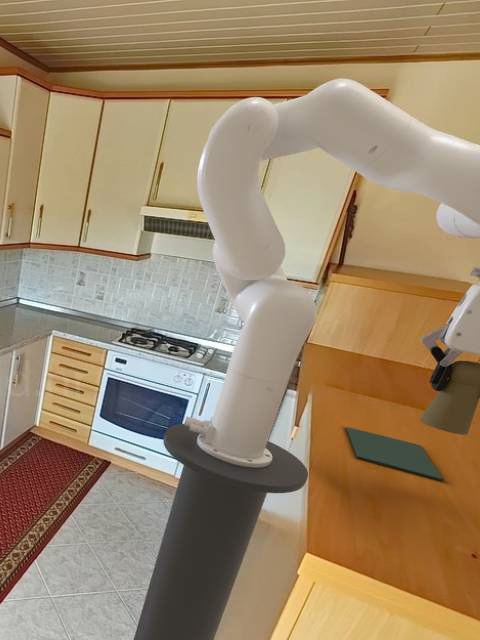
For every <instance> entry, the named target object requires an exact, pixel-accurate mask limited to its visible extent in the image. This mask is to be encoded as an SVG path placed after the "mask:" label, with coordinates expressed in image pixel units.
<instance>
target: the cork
mask: <svg viewBox="0 0 480 640" xmlns="http://www.w3.org/2000/svg"><path fill="white" fill-rule="evenodd" d="M450 368H451V369H452V371H451V373H450V376H449V378H448V380H447V382H446V384H445V386H444V388H443V390H442V391H437V392H438V393H437V394H436V395H435V396H434V398H433V399H432V401H431V402H430V403H429V405H428V407H427V408H426V409H425V410H424V412H423V414H421V416H420V418H419V421H420V422H421V423H423V424H425V425H426V426H429V427H431V428H434V429H436V430H440V431H444V432H447V433H451V434H454V435H455V434H456V435H461V436H462V435H469V432H470V429H471V425H472V423H473V419H474V416H475V413H476V410H477V407H478V404H479V401H480V362H477V361H472V360H471V361H470V360H454V361H453V362H452V363H451V366H450Z"/></svg>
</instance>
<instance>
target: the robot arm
mask: <svg viewBox="0 0 480 640" xmlns="http://www.w3.org/2000/svg"><path fill="white" fill-rule="evenodd" d="M318 148H319V149H320V150H322V151H324V152H325V153H327V154H328V155H330V156H331V157H333V158H335V159H336V160H338V161H339V162H340V163H342V164H344V165H345V166H347V167H348V168H350V169H352V170H353V171H354V172H356V173H357V174H359V175H361V177H364V178H365V179H366V180H368V181H369V182H371V183H373V184H376V185H379V186H381V187H384V188H387V189H391V190H397V191H401V192H402V191H403V192H408V193H413V194H416V195H420V196H423V197H426V198H428V199H432V200H433V201H437V202H439V203H440V204H439V206H438V208H437V210H436V215H435V218H436V223H437V225H438V227H439V228H440V229H441V230H442V231H443V232H445V233H446V234H448V235H451V236H453V237H458V238H464V239H480V144H477V143H474V142H471V141H468V140H465V139H463V138H461V137H459V136H458V137H457V136H456V135H452V134H449V133H446V132H443V131H440V130H437V129H434V128H433V127H430V126H428V125H427V124H425V123H423V122H422V121H420V120H419V119H417V118H415V117H414V116H412V115H410V114H409V113H408V112H406V111H404V110H403V109H401V108H399V107H398V106H397V105H395V104H393V103H392V102H390V101H389V100H387V99H386V98H384V97H382V96H381V95H380V94H378V93H376V92H375V91H373V90H371V89H370V88H368V87H367V86H365V85H363V84H362V83H360V82H359V81H356V80H353V79H350V78H335V79H332V80H329V81H327V82H325V83H323V84H320V85H319V86H317V87H316V88H314V89H312V90H311V91H309V92H308V93H306V94H305V95H302V96H299V97H296V98H293V99H289V100H286V101H282V102H278V103H272V102H271V101H269V100H268V99H266V98H264V97H260V96H259V97H258V96H251V97H247V98H244V99H241V100H239V101H238V102H235V103H234V104H233V105H231V106H230V107H229V108H228V109H227V110H225V112H224V113H223V114H222V115H221V116H220V118H219V119H218V120H216V122H215V124H214V125H213V126H212V128H211V129H210V132H209V134H208V137H207V141H206V142H205V145H204V147H203V149H202V152H201V156H200V159H199V163H198V168H197V175H196V188H197V195H198V200H199V202H200V205H201V209H202V211H203V212H204V216H205V218H206V221H207V223H208V226H209V230H210V231H211V234H212V236H213V239H214V243H213V246H212V259H213V262H214V265H215V267H216V270H217V273H218V276H219V277H220V280H221V282H222V284H223V286H224V288H225V291H226V293H227V295H228V297H229V299H230V302H231V303H232V306H233V308H234V310H235V312H236V314H237V315H238V317H239V318H240V320H241V321H243V322H244V323H243V325H242V329H241V331H240V332H239V333H240V334H239V335H238V337H237V340H236V342H235V344H234V346H233V350H232V353H231V356H230V359H229V363H228V366H227V369H226V373H225V376H224V379H223V383H222V386H221V388H220V389H221V390H220V393H219V397H218V400H217V403H216V407H215V410H214V413H213V416H211V417H210V420H208V419H207V420H206V419H204V420H199V419H197V418H194V417H191V416H186V417H185V420H184V423H183V424H184V426H187V427H190V428H189V431H193V432H197V433H201V434H199V436H198V438H197V444H198V445H199V447H200V448H201V449H202V450H203V451H205V452H206V453H208V454H209V455H211V456H213V457H215V458H217V459H219V460H222V461H224V462H227V463H231V464H234V465H238V466H243V467H250V468H262V467H266V466H268V465H270V464H271V461H272V454H271V453H270V452H269V451H268V450H267V449H266V448H265V447H266V444H267V442H268V441H269V439H270V436H271V433H272V429H273V426H274V424H275V421H276V418H277V415H278V413H279V410H280V407H281V404H282V401H283V398H284V395H285V393H286V390H287V387H288V384H289V381H290V378H291V375H292V372H293V369H294V367H295V364H296V362H297V359H298V356H299V355H300V352H301V350H302V348H303V346H304V344H305V343H306V341H307V339H308V337H309V335H310V333H311V331H312V329H313V327H314V324H315V323H316V317H317V305H316V302H315V299H314V297H313V295H312V294H311V293H310V292H309V291H308V289H306V288H305V287H304V286H302V285H300V284H298V283H296V282H293V281H290V280H288V279H287V277H286V274H285V272H284V270H283V268H282V264H283V262H284V259H285V256H286V244H285V241H284V237H283V236H282V233H281V232H280V229H279V228H278V226H277V224H276V222H275V219H274V216H273V215H272V213H271V210H270V207H269V205H268V203H267V201H266V197H265V195H264V192H263V189H262V186H261V181H260V178H259V166H260V163H261V161H262V162H263V161H268V160H273V159H277V158H283V157H287V156H291V155H296V154H301V153H303V152H309V151H312V150H316V149H318ZM470 276H472V277H476V278H478V281H479V283H478V284H475V283H474V284H473V283H472V285H471V286H470V287H469V288H468V290H467V291H466V293H464V295H463V296H462V297H461V299H460V301H459V302H458V304H457V306H456V307H455V308H454V310H453V312H452V313H451V315H450V316H449V318H448V320H447V321H446V323H445V324H444V325H442V326H440V327H438V328H435V329H434V330H432V331H430V332H428V333H426V334H424V335H423V336H422V335H421V336H420V339H419V340H420V342H421V343H422V344H423V345H424V346H425V348H426V349H427V350H428V352H430V354H431V356H432V357H433V358H434V361H435V362H436V363H437V364H436V366H435V368H434V370H433V372H432V374H431V375H430V378H429V381H428V382H429V384H431V385H430V387H431V388H432V389H433V390H434V391H436V392H439V391H442V390H443V388H444V386H445V384H446V382H447V380H448V378H449V376H450V373H451V371H452V369H451V368H450V366H451V364H452V363H454V362H455V361H456V360H457V358H459V357H460V356H461V355H462V354H463V353H467V354H472V355H477V356H480V267H479V266H474V267H473V268H472V270H471V271H470ZM438 340H439V341H440V342H441V343H442V344H444V345H445V346H447V347H446V348H445V349H442V348H441V347H440V346H439V345H438V344H437V341H438Z"/></svg>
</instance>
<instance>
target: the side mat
mask: <svg viewBox="0 0 480 640" xmlns="http://www.w3.org/2000/svg"><path fill="white" fill-rule="evenodd" d="M345 430H346V432H347V434H348V438H349V440H350V443H351V446H352V448H353V451H354V454H355V457H356V459H358V460H362V461H365V462H369V463H372V464H377V465H380V466H383V467H387V468H391V469H394V470H399V471H402V472H406V473H409V474H414V475H417V476H421V477H424V478H428V479H432V480H435V481H440V482H443V480H444V478H443V477H442V476H441V474H440V472H439V471H438V469H437V468H436V466H435V465H434V464H433V462H432V460H430V458H429V456H428V455H427V454H426V452H425V451H424V449H423V447H422V446H421V445H420V444H418V443H413V442H410V441H406V440H403V439H402V440H401V439H398V438H394V437H390V436H386V435H381V434H377V433H373V432H369V431H365V430H361V429H357V428H354V427H349V426H346V428H345Z"/></svg>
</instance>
